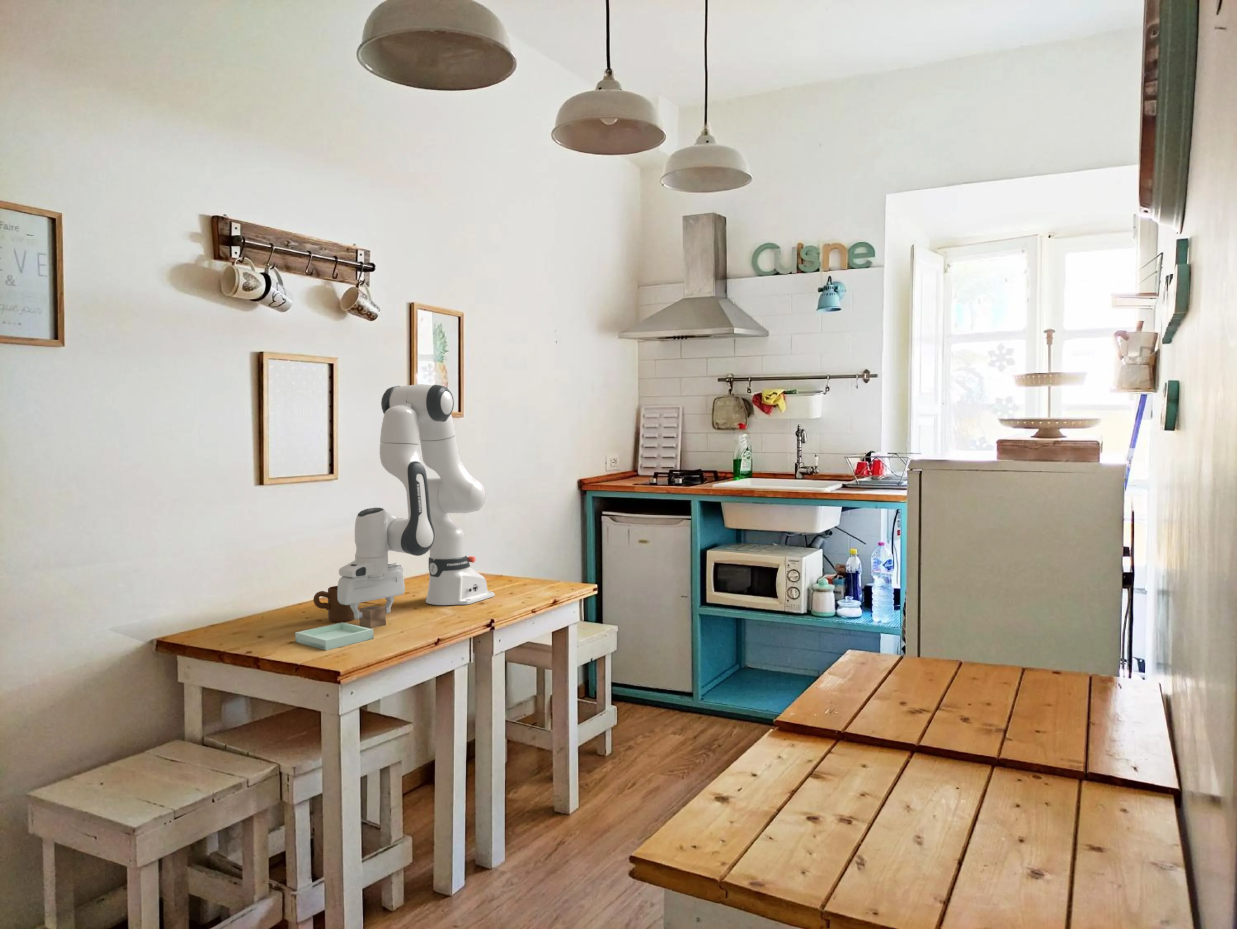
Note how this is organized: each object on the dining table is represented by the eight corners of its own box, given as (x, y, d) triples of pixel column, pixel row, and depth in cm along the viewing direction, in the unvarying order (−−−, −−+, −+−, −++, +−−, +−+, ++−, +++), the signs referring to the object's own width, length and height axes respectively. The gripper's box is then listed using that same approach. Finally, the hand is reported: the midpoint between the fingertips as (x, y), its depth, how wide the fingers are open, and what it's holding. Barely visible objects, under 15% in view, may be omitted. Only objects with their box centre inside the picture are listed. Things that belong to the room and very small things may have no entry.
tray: (342, 631, 234) (342, 622, 234) (373, 638, 225) (373, 629, 225) (295, 642, 223) (295, 632, 223) (326, 650, 214) (325, 640, 214)
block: (375, 623, 244) (374, 605, 243) (385, 625, 241) (385, 607, 240) (360, 626, 240) (359, 608, 240) (370, 628, 237) (370, 610, 236)
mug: (319, 626, 240) (318, 593, 239) (309, 622, 245) (308, 589, 245) (360, 619, 248) (359, 587, 247) (349, 615, 253) (348, 583, 253)
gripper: (395, 561, 249) (396, 608, 250) (333, 570, 233) (334, 620, 233) (409, 563, 245) (409, 611, 246) (347, 572, 229) (348, 623, 230)
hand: (372, 615), depth 239 cm, fingers open, 8 cm apart
